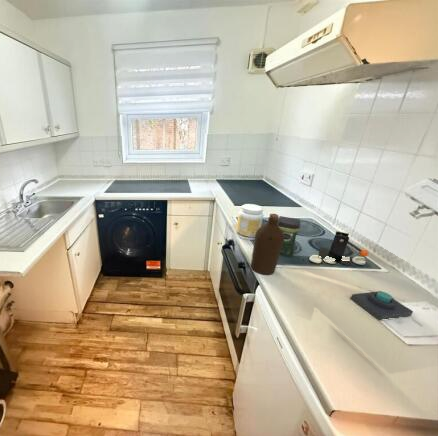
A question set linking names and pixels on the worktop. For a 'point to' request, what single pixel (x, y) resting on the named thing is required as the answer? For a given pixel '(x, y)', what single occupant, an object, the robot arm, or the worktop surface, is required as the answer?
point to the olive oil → (267, 247)
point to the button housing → (380, 306)
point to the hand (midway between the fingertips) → (412, 215)
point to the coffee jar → (288, 234)
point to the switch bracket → (337, 249)
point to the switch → (358, 249)
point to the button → (384, 297)
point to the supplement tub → (249, 221)
